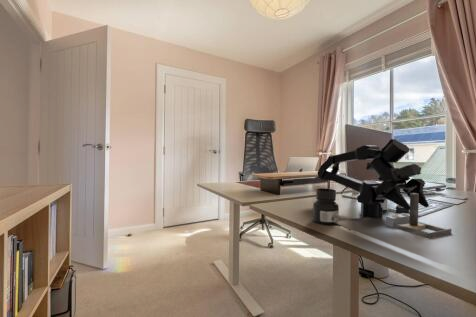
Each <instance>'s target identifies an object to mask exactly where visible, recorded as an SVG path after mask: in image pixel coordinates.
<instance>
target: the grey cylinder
mask: <svg viewBox="0 0 476 317" xmlns="http://www.w3.org/2000/svg"><path fill="white" fill-rule="evenodd" d="M409 205H410V207H411V209H410V212H409V214H410V221H409V224H404V225H403V226H407V227H410V228H414V229H417V230H422V229H427V228H426V225H424V224H420V223H418V222H419V194H417V193H410V198H409Z"/></svg>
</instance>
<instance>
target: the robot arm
mask: <svg viewBox="0 0 476 317" xmlns="http://www.w3.org/2000/svg"><path fill="white" fill-rule="evenodd" d="M409 152H410V148H409V147H408V146H407V144H404V143H402V142H401V141H398V140H397V139H395V138H391V139H390V140H388V142H387V143H386V145H384V146H383V148H380V147H379V146H378V145H371V144H370V145H367V144H366V145H365V144H364V145H361V146H359V147H356V148H355V149H354V150H352V151H347V152H343V153H338V154H334V155H333V154H331V155H330V156H328V157H327V159H326V160H325V161H324V162H323V163H322V164H321V165H320V166H319V168H318V170H317V177H318V179H319V180H323V181H327V182H328V181H330V182H335V183H336V184H339V185H341V186H345V187H347V188H349V189H351V190H354V191H355V192H356V191H357V192H358V193H359V194H358V195H357V197H356V200H357V202H358V203H359V204H360V213H359V217H360V218H362V219H363V218H372V219H373V218H374V219H377V218H383V210H382V209H383V208H382V207H381V204H380V203H384V201H385V199H387V201H390V202H392V203H394V204H396V205H397V204H398V205H399V206H401V207H403V208H405V209H407V210H409V209H411V207H410V206H409V205H410V203H408V201H407V200H406V199H405V197H404V196H403V194H402V192H404V193H407V194H406V196H407V197H408V196H409V197H410V193H417V194H419V203H418V205H420V206H423V207H424V208H428V207H430V205H429V204H430V203H428V201H427V198H426V196H425V193H424V191H423V189H424V187H425V185H426V182H425V180H424V179H423V178H418V177H417V178H410V177H413V176H416V175H418V176H419V175H421V174H422V172H421V170H422V167H421V166H419V165H418V164H416V163H412V164H409V165H405V166H402V167H395V166H394V165H393V164H392V163H398V162H399V161H401V159H402V158H404V157H405V156H406V155H407V154H408V153H409ZM357 160H360V161H368V160H369V161H371V162H367V163H366V164H367V165H366V167H365V169H366V171H368V170H374V172H375V173H376V174H377V175H378V181H379V182H382V183H378V182H376V181H377V180H374V179H373V180H362V181H361V180H359V179H356V178H353V177H351V176H347V175H344V174H343V173H340V164H342V163H346V162H353V161H357ZM331 166H332V167H331ZM401 191H402V192H401ZM409 197H408V198H409Z"/></svg>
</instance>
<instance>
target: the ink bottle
mask: <svg viewBox="0 0 476 317" xmlns="http://www.w3.org/2000/svg"><path fill="white" fill-rule="evenodd" d="M315 193H316V194H315V197H316V200H315V201H314V202H313V203H312V221H313V222H314V223H317V224H320V225H324V226H325V225H326V226H330V225H332V226H333V225H337V224H338V223H337V222H339V218H340V217H339V212H340V210H339V208H340V207H339V204H338V203H337V202H336V200H337V198H336V196H337V191H336V190H335V189H332V188H324V187H323V188H317V189H316V191H315Z"/></svg>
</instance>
